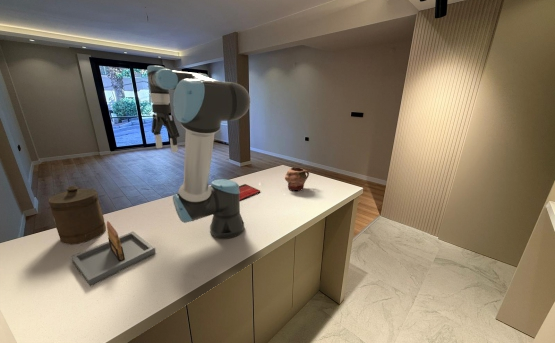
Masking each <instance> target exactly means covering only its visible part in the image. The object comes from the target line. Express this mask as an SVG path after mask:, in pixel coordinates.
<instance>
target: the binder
mask: <svg viewBox="0 0 555 343" xmlns="http://www.w3.org/2000/svg"><path fill="white" fill-rule="evenodd" d="M239 191H240V194H239V197H240V202H241V201H243V200H245V199H248V198H250V197H252V196H254V194H255V195H257V193H258V194H260V193H261V190H259V189H257V188H256V187H253V186H251V185H249V184H246V183H244V184H240V185H239ZM259 192H260V193H259ZM249 196H250V197H249Z"/></svg>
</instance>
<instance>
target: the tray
mask: <svg viewBox="0 0 555 343" xmlns="http://www.w3.org/2000/svg"><path fill="white" fill-rule="evenodd" d="M118 237H119V239H120V242H121V246H122V248H123V252H124V257H125V259H124V260H122V261H118V259H117V258H116V256H115V255H114V253H113V252H112V250H111V248H110V244H109V240H108V241H106V242H103V243H101V244H98V245H96V246H94V247H91V248H89V249H86V250H83V251H80V252H78V253H76V254H74V255H71V256H70V258H71V260H72V263H73V265H74V266H75V267H76V269H77V270H78V272H79V273H80V274H81V275H82V278H84V281H85V282H86V283H87V284H88V285H89V287H93V286H94V285H96V284H98V283H101V282H102V281H104V280H106V279H108V278H110V277H112V276H113V275H116V274H119V273H120V272H121V271H124V270H126V269H127V268H129V267H131V266H133V265H135V264H137V263H139V262H141V261H143V260H146V258H149V257H150V256H153V255H154V254H156V248H155V246H153V245H152V244H150V243H149V242H148V241H146V240H145V239H144V238H142V237H141V236H140V235H139V234H137V233H136V232H134V231H131V232H128V233H126V234H123V235H120V236H118Z"/></svg>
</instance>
